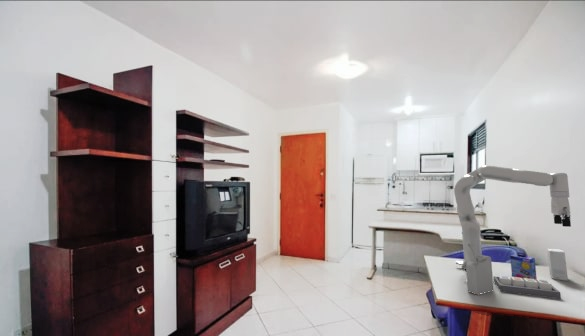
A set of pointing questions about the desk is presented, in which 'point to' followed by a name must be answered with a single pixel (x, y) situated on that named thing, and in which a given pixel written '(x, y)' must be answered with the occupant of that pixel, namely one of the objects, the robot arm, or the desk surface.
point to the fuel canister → (479, 273)
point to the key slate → (505, 280)
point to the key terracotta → (517, 281)
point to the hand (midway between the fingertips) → (562, 225)
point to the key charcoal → (544, 284)
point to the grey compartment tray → (527, 290)
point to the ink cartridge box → (523, 266)
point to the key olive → (530, 283)
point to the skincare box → (557, 264)
